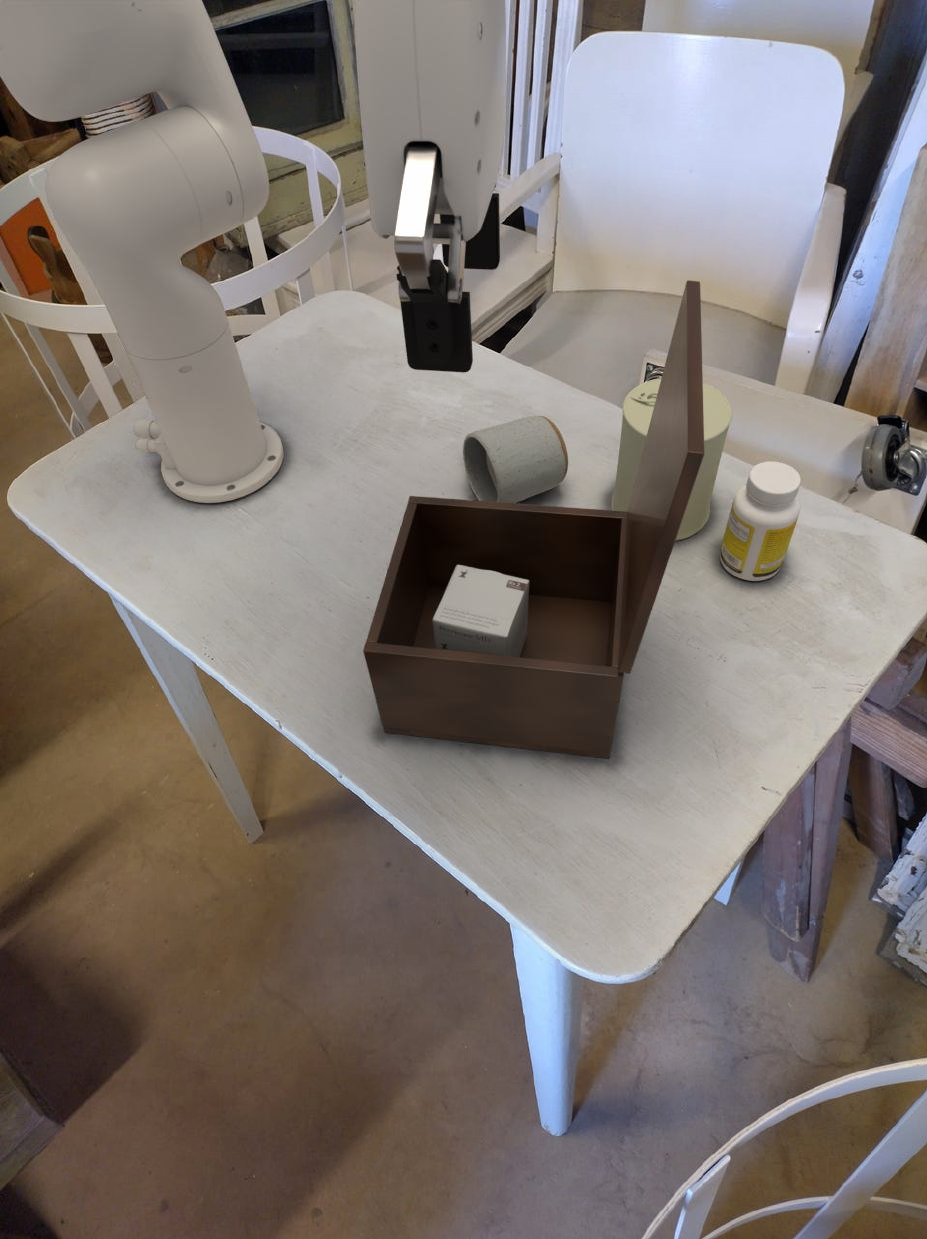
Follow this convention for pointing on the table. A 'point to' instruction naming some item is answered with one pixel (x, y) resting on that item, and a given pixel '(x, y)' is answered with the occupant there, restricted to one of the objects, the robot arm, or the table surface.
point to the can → (633, 440)
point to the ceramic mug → (515, 459)
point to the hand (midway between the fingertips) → (457, 313)
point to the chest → (556, 631)
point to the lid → (664, 475)
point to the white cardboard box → (482, 613)
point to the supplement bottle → (761, 522)
